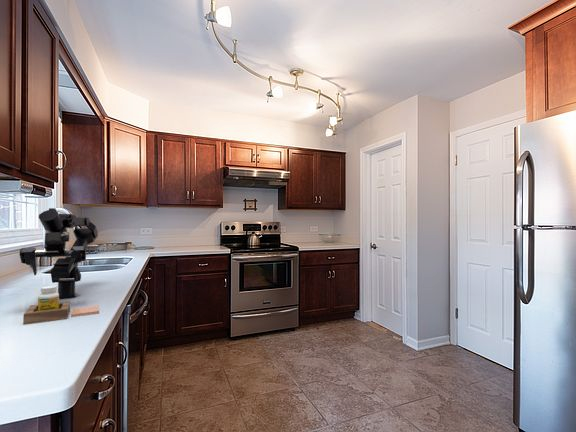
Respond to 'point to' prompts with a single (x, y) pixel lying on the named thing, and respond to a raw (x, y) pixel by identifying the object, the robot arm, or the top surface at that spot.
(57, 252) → the robot arm
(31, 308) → the pocket block
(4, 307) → the top surface
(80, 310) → the coaster
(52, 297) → the supplement bottle
